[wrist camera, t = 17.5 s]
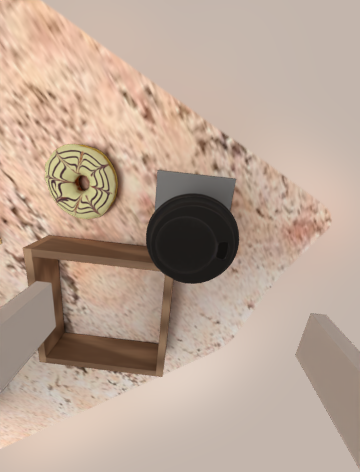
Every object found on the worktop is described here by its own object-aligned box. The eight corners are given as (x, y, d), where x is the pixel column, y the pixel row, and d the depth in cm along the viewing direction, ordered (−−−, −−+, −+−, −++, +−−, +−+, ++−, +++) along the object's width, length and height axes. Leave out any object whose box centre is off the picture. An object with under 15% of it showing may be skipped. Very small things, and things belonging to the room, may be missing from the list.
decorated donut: (54, 205, 35) (38, 209, 31) (58, 137, 31) (41, 133, 28) (114, 222, 35) (106, 228, 32) (126, 156, 32) (117, 155, 28)
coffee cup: (227, 230, 34) (254, 275, 20) (174, 247, 36) (163, 301, 22) (210, 174, 32) (227, 180, 17) (153, 195, 33) (125, 217, 19)
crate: (166, 349, 43) (162, 376, 38) (59, 336, 43) (39, 361, 38) (176, 249, 36) (174, 265, 30) (49, 235, 36) (22, 247, 31)
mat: (222, 250, 36) (222, 251, 36) (152, 242, 36) (152, 243, 36) (235, 178, 32) (235, 178, 32) (157, 170, 32) (157, 170, 32)
